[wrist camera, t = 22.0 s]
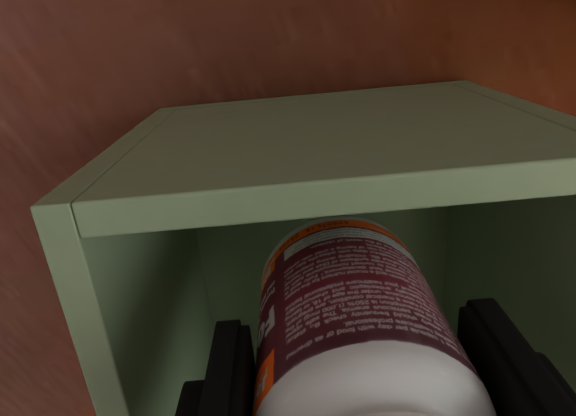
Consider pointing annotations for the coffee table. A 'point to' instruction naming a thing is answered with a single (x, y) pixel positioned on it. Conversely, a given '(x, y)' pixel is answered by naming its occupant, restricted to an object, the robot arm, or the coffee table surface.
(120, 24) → the coffee table surface
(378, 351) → the pill bottle
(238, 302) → the chest
